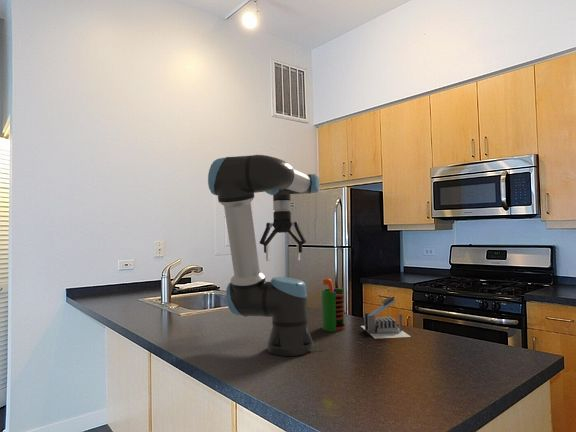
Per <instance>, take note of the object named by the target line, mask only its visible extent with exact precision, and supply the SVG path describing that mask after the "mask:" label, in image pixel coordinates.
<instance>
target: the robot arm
mask: <svg viewBox="0 0 576 432" xmlns="http://www.w3.org/2000/svg"><path fill="white" fill-rule="evenodd" d="M207 185H208V189H209V190H210V192H211V193H210V194H212V195H215V196H217V201H218V203H219V204H221V206H223V210H224V215H225V220H226V221H225V222H226V226H227V227H226V229H227V234H228V242H229V248H230V249H229V250H230V255H231V262H232V269H233V276H232V277H231V278H230V282H229V283H228V284H227V285H226V290H225V292H226V294H225V301H226V304H227V307H228V310H229V311H230V312H231V313H232V314H234V315H235V316H243V317H245V318H246V317H263V318H264V317H265V318H266V317H267V318H271V324H272V325H271V329H270V334H269V337H268V341H267V352H269V353H270V354H272V355H275V356H281V357H282V356H283V357H293V356H295V357H296V356H303V355H306V354H310V353H312V349H313V348H314V341H313V338H312V336H311V332H310V329H309V326H308V303H307V302H308V294H307V284H306V283H305V282H304V281H303V280H301V279H298V278H292V277H286V276H285V277H284V276H275V277H272V278H271V280H270V281H266V276H265V273H263V272H262V271H261V270H260V264H259V256H258V249H257V242H256V241H257V240H256V234H255V227H254V226H255V225H254V220H253V211H252V201H253V200H254V199H255V194H257V193H267V194H268V195H271V196H272V203H273V205H272V206H273V207H272V208H273V209H272V210H273V212H272V213H273V222H272V223H271V222H266V225H265V226H266V227H265V229H264V232H263V233H262V236H261V238H260V241H259V245H263V252H264V254H265V255H266V256H265V260H266V262H269V261H271V257H270V256H271V249H270V245H269V243H271V241H272V239H274V237H275V236H276V235H277V234H278V233H286V234H287V233H288V234H289V235H290V236H291V237H292V239H293V240H294V241H295V242H296V243H297V244H296V246H295V247H296V261H297V262H298V261H301V253H303V245H304V244H306V243H307V240H306V238H305V236H304V234H303V232H302V230H301V228H300V224H299V222H298V221H294V222H293V221H292V212H291V210H292V206H291V205H292V203H291V195H297V194H298V195H301V194H302V195H304V194H306V195H307V194H316V193H318V192H319V190H320V178H319V176H318V174H315V173H313V174H311V173H309V174H305V173H304V172H301V171H299V170H297V169H294V167H293V166H292V165H291V163H289V162H287V161H285V160H283V159H280V158H278V157H275V156H274V157H273V156H269V155H264V154H253V155H241V156H240V155H239V156H237V155H236V156H226V157H219V158H217V159H215V160H213V162H212V163H211V165H210V166H209V170H208V175H207ZM272 227H273V230H272V232H271V233H270V230H271V228H272ZM292 227H293V228H295V229H294V230H295V231H296V233H297V234H298V236H297V235H296V233H294V231H293V230H292ZM269 233H270V235H269Z"/></svg>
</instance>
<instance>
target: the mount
mask: <svg viewBox="0 0 576 432" xmlns="http://www.w3.org/2000/svg"><path fill="white" fill-rule="evenodd" d="M370 313H371V312H364V318H363V319H364V326H365V330H364V331H365V332H367V331H368V332H367V333H368V334H369V335H370V334H371V333H375V318H376V316H375V315H368V318H367V316H366V315H367V314H370ZM398 328H399V330H400V331H403V315H402V313H398Z"/></svg>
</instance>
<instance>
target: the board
mask: <svg viewBox="0 0 576 432" xmlns="http://www.w3.org/2000/svg"><path fill="white" fill-rule="evenodd" d="M360 327H361V328H362V329H363V330H364V331H365V325H360ZM366 333H368V331H366ZM369 335H370V336H371V337H372V338H374V339H392V338H393V339H394V338H395V339H396V338H412V337H411V335H409V334H408V333H406V332H405V331H404V330H402V331H400V330H399V333H392V334H376V333H371V334H369Z"/></svg>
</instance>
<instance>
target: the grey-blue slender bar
mask: <svg viewBox="0 0 576 432" xmlns="http://www.w3.org/2000/svg"><path fill="white" fill-rule="evenodd" d="M395 302H396V301H395V299H394V297H392V296H389V297H387V298H386V299H384V300H383V301H381V304H382V305H380V306H379V307H377V308H376V309H375V310H373V311H372V312H369V313H370V314H367V315H366V316H367V318H368V315H375V317H377V315H378V314H380V313H381V312H383V311H384V310H386V309H387V308H389V307H390V306H391V305H393V304H394V303H395Z"/></svg>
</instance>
